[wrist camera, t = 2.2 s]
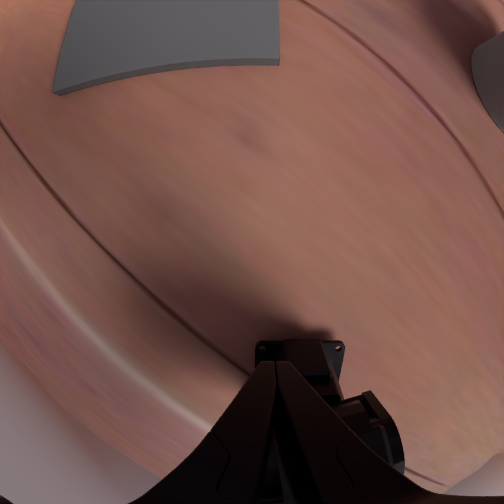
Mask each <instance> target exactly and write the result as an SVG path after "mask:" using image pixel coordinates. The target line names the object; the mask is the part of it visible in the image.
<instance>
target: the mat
mask: <svg viewBox="0 0 504 504" xmlns="http://www.w3.org/2000/svg"><path fill="white" fill-rule="evenodd" d="M279 61H280V42H279V1H278V0H76V2H75V5H74V7H73V10H72V13H71V16H70V19H69V22H68V26H67V29H66V32H65V36H64V40H63V43H62V47H61V51H60V55H59V60H58V64H57V69H56V74H55V79H54V84H53V90H52V93H54V94H57V95H60V96H61V95H64V94H67V93H70V92H73V91H77V90H80V89H84V88H87V87H91V86H95V85H98V84H102V83H107V82H111V81H115V80H120V79H124V78H129V77H134V76H140V75H145V74H151V73H158V72H164V71H172V70H180V69H189V68H200V67H213V66H233V65H278V66H279Z"/></svg>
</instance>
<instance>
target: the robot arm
mask: <svg viewBox="0 0 504 504" xmlns="http://www.w3.org/2000/svg"><path fill="white" fill-rule="evenodd" d="M261 346H264V347H265V349H260V348H259V347H261ZM337 346H340V348H339V349H335V348H336V347H337ZM344 351H345V346H344V344H343V342H342V341H339V340H335V341H321V340H319V339H286V340H284V341H264V340H262V341H259V342H257V343H256V346H255V370H254V371H253V373H252V374H251V376H250V377H249V378H248V380H247V381H246V383H245V384H244V386H243V387H242V388H241V390H240V391H239V392H238V394H237V395H236V397H235V398H234V399H233V401H232V402H231V403H230V405H229V406H228V408H227V409H226V410H225V412H224V413H223V414H222V416H221V417H220V418H219V420H218V421H217V422H216V423H215V425H214V426H213V427H212V429H211V430H210V432H208V434H207V435H206V436H205V437H204V439H203V440H202V441H201V442H200V444H199V445H198V446H197V447H196V448H195V449H194V451H193V452H192V453H191V454H190V455H189V456H188V457H187V458H186V459H185V460H184V461H183V462H181V463H180V464H179V465H178V466H177V467H176V468H175V469H174V470H173V471H171V472H170V473H169V474H168V475H167V476H166V477H164V478H163V479H162V480H161V481H160V482H159V483H157V484H156V485H155V486H154V487H153V488H151V489H150V490H149V491H148V492H146V493H145V494H144V495H142V496H141V497H139V498H138V499H136V500H134V501H132V502H130V503H128V504H504V496H457V495H445V494H438V493H434V492H431V491H428V490H426V489H424V488H422V487H420V486H419V485H417V484H415V483H414V482H413V481H411V480H410V479H408V478H407V477H406V476H404V475H403V474H404V470H405V459H404V451H403V446H402V442H401V438H400V435H399V432H398V429H397V427H396V425H395V422H394V420H393V419H392V417H391V416H390V415H389V413H388V412H387V411H386V409H385V408H384V407H383V406H382V404H381V403H380V402H379V400H378V399H377V398H376V397H375V395H374V394H373V393H372V391H371V390H370V391H366V392H363V393H362V395H359V396H355V397H352V398H349V399H345V400H344V397H343V394H342V391H341V388H340V385H339V377H340V372H341V367H342V362H343V357H344ZM0 504H13V503H12V502H10V501H9V500H7V499H6V498H4V497H3V496H1V495H0Z"/></svg>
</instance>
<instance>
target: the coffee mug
mask: <svg viewBox="0 0 504 504" xmlns="http://www.w3.org/2000/svg"><path fill="white" fill-rule="evenodd" d="M471 68H472V75H473V79H474V83H475V86H476V89H477V91H478V94H479V96H480V98H481V101H482V103H483V105H484V107H485V109H486V110H487V112H488V114H489V115H490V117H491V118H492V120H493V121H494V123H495V124H496V125H497V126H498V127H499V128H500V130H501V131H503V132H504V31H503V32H501V33H500V34H498V35H496V36H494V37H492V38H491V39H489V40H487V41H485V42H484V43H482V44H480V45H478V46H477V47H476V48H475V49H474V51H473V53H472V58H471Z"/></svg>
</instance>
